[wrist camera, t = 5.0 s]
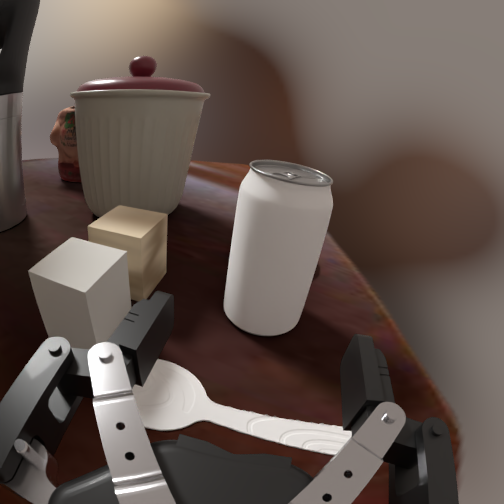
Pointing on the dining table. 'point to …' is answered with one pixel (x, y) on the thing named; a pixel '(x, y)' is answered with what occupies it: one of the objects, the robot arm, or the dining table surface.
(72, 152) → the decorative planter
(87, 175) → the canister
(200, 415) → the spoon
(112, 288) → the white rectangular block
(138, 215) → the beech block
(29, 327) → the dining table surface
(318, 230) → the can
